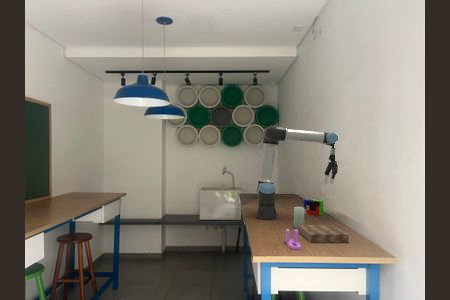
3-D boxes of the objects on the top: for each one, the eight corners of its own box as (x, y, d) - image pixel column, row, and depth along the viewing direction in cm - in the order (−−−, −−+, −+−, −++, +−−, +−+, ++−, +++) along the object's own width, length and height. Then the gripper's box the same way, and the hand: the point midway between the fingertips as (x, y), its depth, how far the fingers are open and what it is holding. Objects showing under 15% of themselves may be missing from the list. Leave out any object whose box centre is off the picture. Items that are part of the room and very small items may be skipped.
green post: (295, 228, 181) (295, 208, 181) (292, 226, 187) (292, 206, 187) (305, 228, 181) (305, 208, 181) (302, 226, 187) (302, 206, 187)
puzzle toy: (303, 213, 229) (303, 199, 229) (313, 212, 233) (313, 199, 233) (312, 215, 220) (312, 201, 220) (323, 214, 224) (323, 201, 224)
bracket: (285, 241, 154) (285, 228, 154) (296, 242, 154) (296, 228, 154) (290, 250, 141) (290, 235, 141) (302, 250, 141) (302, 235, 141)
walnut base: (310, 242, 153) (310, 234, 153) (297, 232, 173) (298, 225, 173) (348, 242, 154) (348, 234, 154) (332, 232, 174) (332, 225, 174)
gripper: (346, 155, 209) (339, 184, 206) (334, 158, 234) (327, 185, 231) (336, 151, 209) (328, 181, 207) (324, 156, 234) (317, 182, 231)
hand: (327, 183), depth 219 cm, fingers open, 13 cm apart
